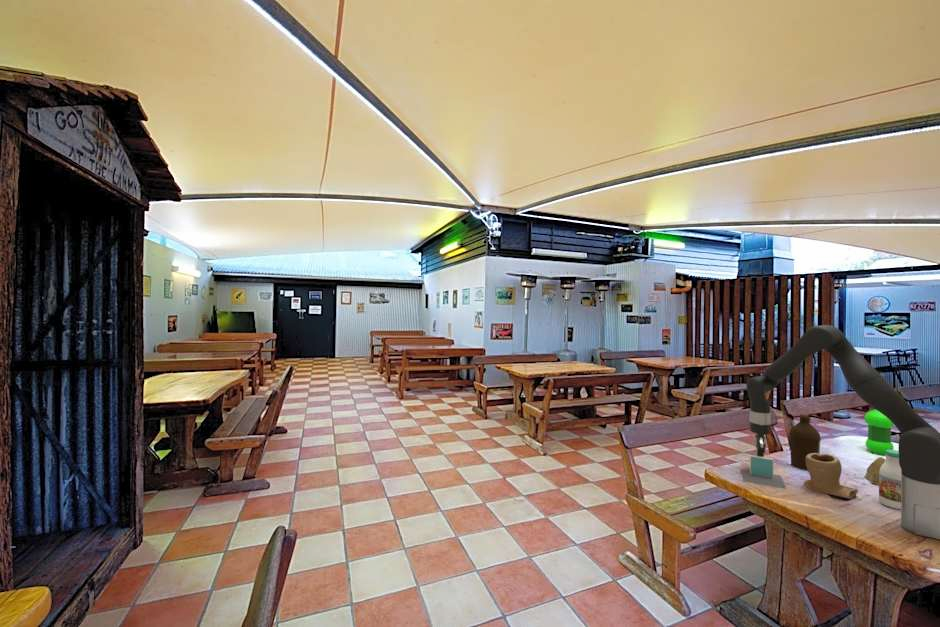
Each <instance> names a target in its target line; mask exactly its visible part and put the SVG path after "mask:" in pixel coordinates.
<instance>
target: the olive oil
mask: <svg viewBox="0 0 940 627" xmlns="http://www.w3.org/2000/svg"><path fill="white" fill-rule="evenodd" d="M799 415H800V416H799V422H798V423H796V424H795V425H793V426H792V427H791V428H790V430H789V432H788V436H789V447H790V450H789V451H790V466H792V467H794V468H796V469H798V470H799V469H800V470H801V471H807V472H808V470H807V467H806V461H805V458H806V456H807V455H808V454H811V453H819V454H821V453H820V452H821V451H820V450H821V439H822V438H821V434H820V433H819V431H818V430H817V429H816V428H815V427H814V425H812V424H811V423H810V420H811V419H810V418H811V417H810V414H808V413H799Z"/></svg>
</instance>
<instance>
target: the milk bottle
mask: <svg viewBox="0 0 940 627" xmlns="http://www.w3.org/2000/svg"><path fill="white" fill-rule="evenodd" d="M885 454H886V455H884V456H885V462H884V463H883V465H882V466H881V468H880V471H879V485H878V501H879V503H881V505H884V506H886V507H889V508H893V509H896V510H901V467H900V465H899V450H894V449H893V450H886V451H885Z"/></svg>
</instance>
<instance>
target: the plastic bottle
mask: <svg viewBox="0 0 940 627" xmlns="http://www.w3.org/2000/svg"><path fill="white" fill-rule="evenodd" d="M864 422H865V423H866V424H867V425H868V426H867V434H868V435H867V436H868V437H867V439H866V441H865V447H866V448H867V449H868V450H869V451H871V453H873V454H876V455H880V456H882V455H883V456H885V455H886V454H885V451H886V450H894V446H895V445H894V444H893V442H892V440H891V439H892V438H891V437H892V433H891V432H892V429H891V428H893V427H894V426H895V425H894V424H893V423H892V422H891V421H890V420H889V419H888V418H887V417H886V416H885V415H883V414H882V413H880V412H879V411H877V410H876V409H874V408H873V409H872V410H870V411H868V412H866V413H865V415H864Z"/></svg>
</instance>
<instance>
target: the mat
mask: <svg viewBox="0 0 940 627" xmlns="http://www.w3.org/2000/svg"><path fill="white" fill-rule="evenodd" d="M740 472H741V476H742V481H743V482H746V483H752V484H756V485H763V486H768V487H773V488H780V489H784V490H786V489H787V487H786V485H785V483H784V480H783V478H782V476H781V475H778V474H775V473H773V478H769V477H763V476H758V475H752V474H750V469H745V468H744V469H743V468H740Z"/></svg>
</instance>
